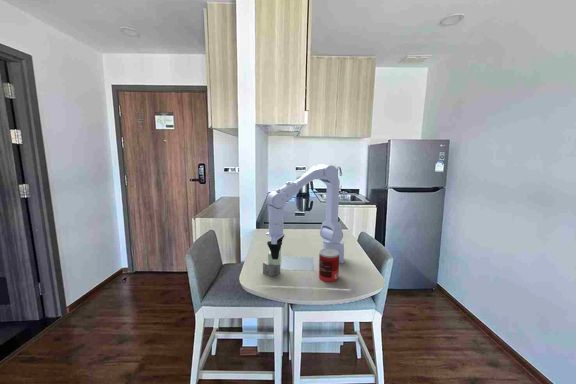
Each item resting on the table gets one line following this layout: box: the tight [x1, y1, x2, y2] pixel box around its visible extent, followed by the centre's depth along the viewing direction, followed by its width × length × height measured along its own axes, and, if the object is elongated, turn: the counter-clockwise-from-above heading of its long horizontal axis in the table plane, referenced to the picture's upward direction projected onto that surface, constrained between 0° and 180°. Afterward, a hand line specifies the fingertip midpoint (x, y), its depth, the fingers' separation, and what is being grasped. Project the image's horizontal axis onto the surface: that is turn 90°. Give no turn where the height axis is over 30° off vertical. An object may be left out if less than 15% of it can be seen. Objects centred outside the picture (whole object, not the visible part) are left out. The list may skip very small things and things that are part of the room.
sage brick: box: [267, 250, 282, 266], centre depth 109 cm, size 4×4×4 cm
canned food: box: [318, 248, 340, 283], centre depth 106 cm, size 8×8×11 cm
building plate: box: [280, 255, 314, 272], centre depth 119 cm, size 14×14×1 cm
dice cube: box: [262, 260, 281, 277], centre depth 110 cm, size 5×5×5 cm
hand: (276, 255), depth 109 cm, fingers open, 7 cm apart
